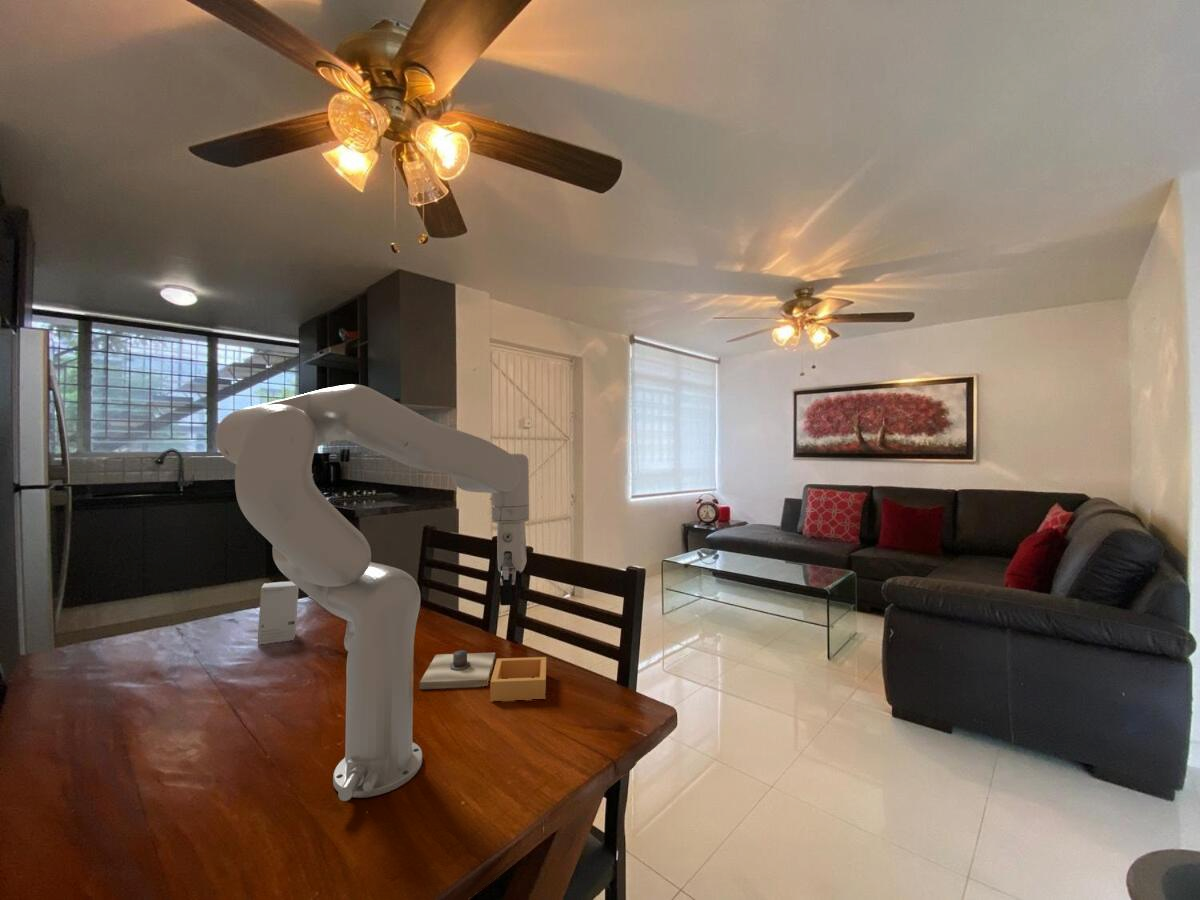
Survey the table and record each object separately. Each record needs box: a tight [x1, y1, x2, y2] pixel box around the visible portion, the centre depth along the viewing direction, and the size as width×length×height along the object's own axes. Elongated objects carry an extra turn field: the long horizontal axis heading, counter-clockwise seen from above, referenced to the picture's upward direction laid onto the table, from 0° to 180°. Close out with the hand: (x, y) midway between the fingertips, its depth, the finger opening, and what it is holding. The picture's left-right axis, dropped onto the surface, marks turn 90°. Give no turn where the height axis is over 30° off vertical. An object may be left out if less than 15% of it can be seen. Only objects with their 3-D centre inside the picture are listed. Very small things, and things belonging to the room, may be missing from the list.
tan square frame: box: [489, 656, 547, 703], centre depth 101 cm, size 11×11×4 cm
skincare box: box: [256, 580, 300, 646], centre depth 126 cm, size 8×6×15 cm
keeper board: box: [419, 649, 496, 690], centre depth 107 cm, size 14×14×4 cm
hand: (511, 596), depth 97 cm, fingers open, 9 cm apart
